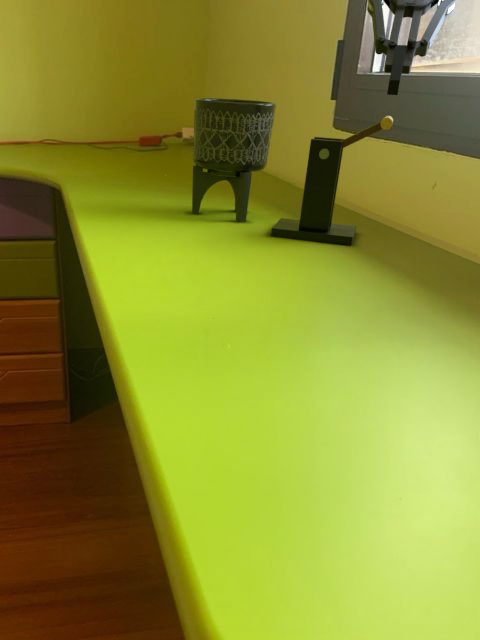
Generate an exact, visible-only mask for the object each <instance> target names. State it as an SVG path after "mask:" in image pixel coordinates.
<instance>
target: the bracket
mask: <svg viewBox="0 0 480 640" xmlns="http://www.w3.org/2000/svg"><path fill="white" fill-rule="evenodd" d="M344 139H345V138H337V137H336V138H335V137H324V136H314V137H313V138H311V139H310V144H309V151H308V157H307V165H306V173H305V179H304V180H305V181H304V186H303V193H302V202H301V209H300V216H299V219H293V218H285V217H281V218H279V220H278V221H277V222H276V223H275V224H274V225H273V226H272V228H271V230H270V237H276V238H284V239H293V240H294V239H295V240H302V241H310V242H319V243H326V244H327V243H328V244H329V243H330V244H336V245H337V244H338V245H347V246H352V244H353V241H354V238H355V236H356V232H357V226H356V225H352V224H351V225H349V224H341V223H333V215H334V209H335V202H336V197H337V192H338V184H339V179H340V171H341V165H342V159H343V152H344V148H342V140H344ZM341 148H342V149H341Z"/></svg>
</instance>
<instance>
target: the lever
mask: <svg viewBox="0 0 480 640" xmlns="http://www.w3.org/2000/svg"><path fill="white" fill-rule="evenodd" d="M393 123H394V118H393V117H392V115H385V116H384V117H383V118H382V120H380V121H379V122H377V123H375V124H373V125H370V126H369V127H367V128H364V129H362V130H360V131H358V132H356V133H354V134H353V135H350V136H348V137H346V138H343V139H344V140H342V148H343V149H345V148H347V147H348V146H351V145H353V144H355V143H357V142H360V141H361V140H364V139H365V138H368V137H370V136H372V135H373V134H376V133H378V132H380V131H382V130H384V131H388V130H390V129H391V128H392V127H393ZM342 148H341V149H342Z"/></svg>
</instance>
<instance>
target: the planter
mask: <svg viewBox="0 0 480 640" xmlns="http://www.w3.org/2000/svg"><path fill="white" fill-rule="evenodd" d="M193 104H194V107H193V109H194V112H193V113H194V114H193V116H194V117H193V148H192V149H193V151H192V152H193V154H192V157H193V159H192V160H193V163H194V164H193V165H192V191H191V193H192V196H191V197H192V199H191V214H192V215H199V214H200V209H201V205H202V201H203V198H204V196H205V195H206V193H207V192H208V191H209V189H210V188H211V187H212V186H214V185H215V184H217V183H219V182H222V181H227V182H228V183H229V185H230V186H231V188H232V191H233V194H234V212H235V221H236V222H237V223H246V222H247V215H248V207H249V200H250V192H251V186H252V185H251V183H252V177H253V176H252V175H253V173H254V172H255V173H256V172H261V171H263V170H264V169H265V168H266V167H267V164H268V159H269V153H270V146H271V139H272V133H273V127H274V121H275V114H276V107H277V104H276V103H275V102H272V101H264V100H255V99H254V100H252V99H239V98H238V99H237V98H220V97H219V98H217V97H214V98H213V97H198V98H197V97H196V98H195V99H194V103H193ZM204 170H206V171H204Z"/></svg>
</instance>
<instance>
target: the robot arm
mask: <svg viewBox="0 0 480 640" xmlns="http://www.w3.org/2000/svg"><path fill="white" fill-rule="evenodd" d="M456 1H457V0H367V6H366V11H367V13H368V14H369V15H370V17H371V21H372V30H373V31H372V32H373V40H374V41H373V42H374V50H375V54H376V55H382V54H384V55H385V60H384V67H383V72H384V73H385V74H386V73H387V74H390V75H389V79H388V87H387V92H386V94H387V96H398V95H399V90H400V85H401V80H402V75H409V74H410V73H411V71H412V66H413V60H414V58H415V57H416V56H419V57H422V58H423V57H425V56H427V54H428V52H429V51H430V48H431V47H432V45H433V43H434V41H435V39H436V38H437V35H438V33H439V32H440V29H441V27H442V26H443V24H444V22H445V20H446V19H447V18H449V17H450V16H451V15H452V14H453V13H454V9H455V6H456ZM384 5H386V6H387V8H388V9H389V10H390V12H391V13H392V15H394V17H393V22H392V25H391V30H390V35H389V39H388V38H387V37H386V29H385V19H384V18H385V17H384V10H383V9H384ZM434 7H436V10H435V12H434V14H433V16H432V17H431V19H430V21H429V24H428V25H427V27H426V29H425V31H424V33H423V35H422V36H421V38H420V40H418V35H419V30H420V25H421V19H422V17H423V16H424V15H426V14H427V13H429V11H431V10H432V9H433V8H434ZM406 18H410V19H411V22H410V28H409V32H408V38H407V43H406V44H404V45H403V44H399V39H400V35H401V30H402V25H403V21H404V19H406Z"/></svg>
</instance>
